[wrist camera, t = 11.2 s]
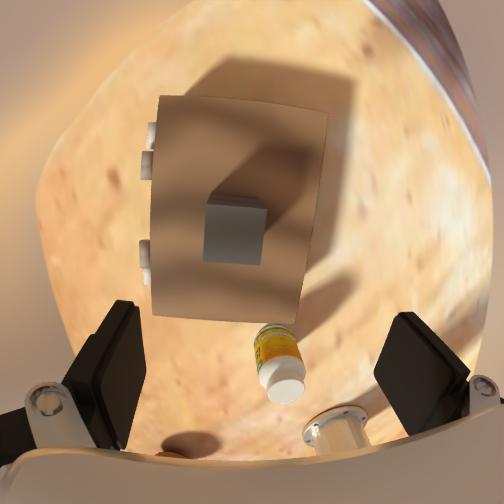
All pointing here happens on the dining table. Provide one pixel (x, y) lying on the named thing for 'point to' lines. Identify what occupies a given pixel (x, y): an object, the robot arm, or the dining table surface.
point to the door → (231, 207)
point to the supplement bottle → (279, 364)
